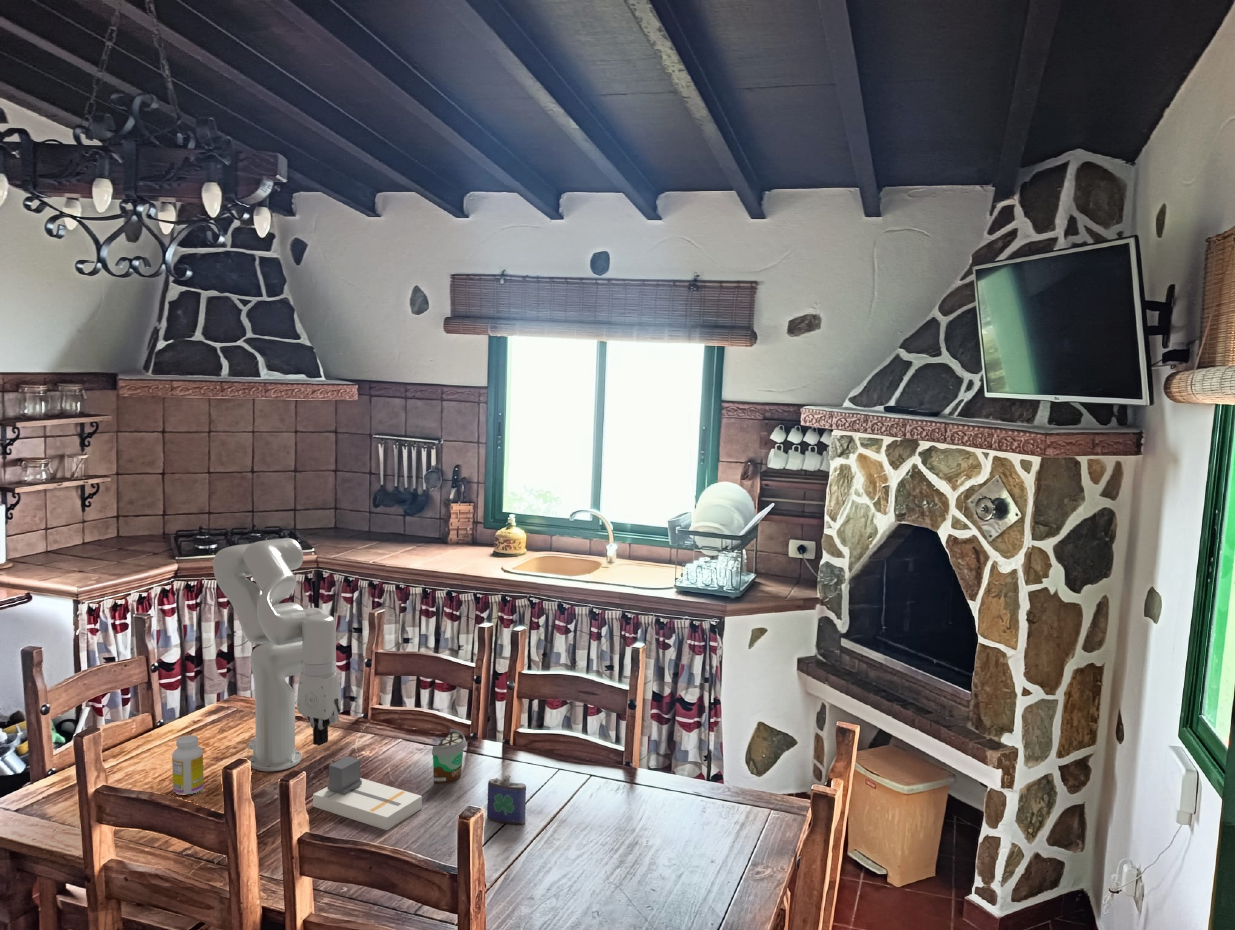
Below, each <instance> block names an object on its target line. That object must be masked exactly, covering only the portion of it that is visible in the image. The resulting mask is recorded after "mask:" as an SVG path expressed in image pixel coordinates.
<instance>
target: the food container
mask: <svg viewBox="0 0 1235 930" xmlns="http://www.w3.org/2000/svg"><path fill="white" fill-rule="evenodd" d="M466 747H467V741H466V738H465V735H464V733H463V732H461V731H460V730H457V729H452V728H449V733H448V735H446V736H445V737H443V738H441V739H440V742H439V743H438V744H437V745H435V746H434V745H433V746H432V749H431V755H432V767H433V768H432V770H433V773H432V774H433V784H434V785H446V784H451V783H453V782H456V781H458V780H459V779H461V777H462V770H463V769H462V768H463V766H462V765H463V757H464V750H465V748H466Z"/></svg>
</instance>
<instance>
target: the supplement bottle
mask: <svg viewBox="0 0 1235 930" xmlns="http://www.w3.org/2000/svg"><path fill="white" fill-rule="evenodd" d="M175 743H176V744H175V745H176V747H177V748H176V749H174V751H173V752H172V755H171V756H172V760H171V761H172V763H171V764H172V767H171V768H172V789H173V793H174V792H176V793H178V794H193V793H196V794H198V793H200V792H201V791H203V789H204V786H205V784H204V783H205V782H204V781H205V780H204V778H205V777H204V750H203V748H202V747H201V746H200V745H198V743H199V737H198V736H197V735H193V734H191V735H190V734H189V735H183V736H180V737H178V738H176V741H175ZM199 791H200V792H199ZM197 792H198V793H197ZM193 795H194V794H193Z"/></svg>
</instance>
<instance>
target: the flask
mask: <svg viewBox="0 0 1235 930" xmlns="http://www.w3.org/2000/svg"><path fill="white" fill-rule="evenodd" d="M502 778H503V779H500V778H498V777H495V778H490V779H489V780H488V781H487V803H486V804H487V805H486V817H487V818H486V820H488V821H490V822H494V823H498V824H506V825H514V826H522V825H524V824H525V823H526V808H527V807H526V804H527V803H526V799H527V797H526V795H527V793H526V792H527V785H526V784H525V783H521V782H512V781H510V779H511V775H510V774H507V775H504V776H503V777H502Z"/></svg>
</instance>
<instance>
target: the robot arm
mask: <svg viewBox="0 0 1235 930" xmlns="http://www.w3.org/2000/svg"><path fill="white" fill-rule="evenodd" d="M303 552H304V551H303V548H302V546H301V545H300V543H299V542H298V541H297V540H296V539H294V538H290V537H285V538H276V539H266V540H260V541H255V542H253V543H246V544H245V543H244V544H236V545H231V546H228V547H224V548H222V549H220V550H218V551H217V552H216V553H215V556H213V557H214V558H213V563H212V566H213V568H212V569H213V574H214V579H215V581H216V583H217V585H218V588H219V589H220V590H221V592H222V594H224V596H225V597H226V598H227V600H228V601H229V602H230V604H231V606H232V608H233V610H234V612H235V615H236V617H237V620H238V622H239V624H240V627H241V629H242V632H243V633H244V636H245V638H246V639H247V641H248V642H249V643H251V644H253V645H257V646H256V647H255V648H254V649H253V650H252V652H251V654H250V667H251V672H252V676H253V677H252V678H253V683H254V699H255V700H254V706H255V714H254V715H255V716H254V717H255V721H254V722H255V723H254V724H255V737H253V738H252V739H251V740H250V743H248V744H247V746H246V747H247V749H249V750H252V751H253V753H252V755H251V757H250V758H249V760H250V761H251V766H252V767H251V766H250V767H251V769H253V770H255V769H257V770H256V771H259V772H278V771H283V770H287V769H290V768H293V767H295V766H297V765H298V764H299V763H300V762H301V761H302V752H301V751H300V750H298V749H297V748H296V708H297V713H299V714H300V715H302V717H304V718H306V719H308V721H309V723H310V727H311V728H312V744H313V745H315V746H317V747H318V746H319V747H320V746H322V745H325V744H327V743H328V742H329V727H330V726H331V724H335V723H337V722H339V721H340V718H339V715H340V714H341V712H342V696H341V695H342V694H341V686H340V679H339V676H338V675H339V674H338V673H337V649H336V648H337V647H336V645H337V644H336V643H337V641H336V640H337V637H336V634H337V633H336V630H337V629H336V619H335V618H334V617H333V616H332V615H329V614H326V613H325V612H324V611H323V610H322V609H321V608H318V607H311V608H310V607H309V608H303V607H302V606H301V605H300V604H298V603H296V602H284V603H280V602H282V601H283V600H285V599H286V598H287V597H289V596H290V595H291V594H292V593H293V591H294V590H295V589H296V585H297V578H296V576H295V575H294V573H293V572H292V571H293V570H297V569H299V568H301V567H302V565H303V562H304V553H303ZM247 577H252V579H253V580H254V581H252V580H250V579H248V578H247ZM295 675H296V676H297V675H299V678H298V685H297V695H295V690H294V689H293V687H292V686H291V685H290V684H289V683H288V682H287V681H286V678H288V677H292V676H295ZM295 696H296V697H297V700H296V697H295ZM296 702H297V703H296ZM295 705H296V706H297V707H296V706H295Z"/></svg>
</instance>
